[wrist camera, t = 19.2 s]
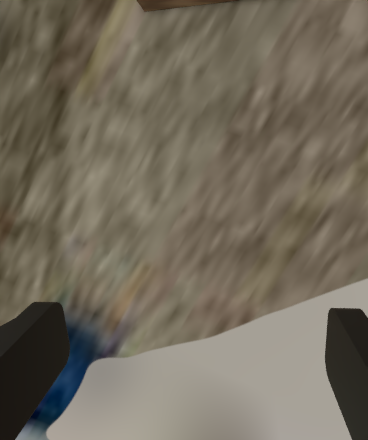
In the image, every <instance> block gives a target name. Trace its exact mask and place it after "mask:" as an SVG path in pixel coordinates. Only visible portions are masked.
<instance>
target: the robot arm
mask: <svg viewBox="0 0 368 440" xmlns="http://www.w3.org/2000/svg"><path fill="white" fill-rule="evenodd" d="M69 352H70V344H69V338H68V333H67V327H66V322H65V317H64V311H63V308H62V305H61V304H60V303H58V302H34V303H32V304H31V305H30V306H28V307H27V308H26V309H25V310H24V311H23V312H22V313H21V314H20V315H19V316H17V317H16V318H15V319H13V320H11V321H9V322H7V323H6V324H4V325H2V326H0V440H15V439H16V437H17V436H18V434H19V433H20V432H21V430H22V429H23V427H24V426H25V424H26V423H27V421H28V420H29V418H30V417H31V415H32V414H33V412H34V411H35V409H36V408H37V407H38V405H39V404H40V402H41V401H42V399H43V398H44V396H45V395H46V393H47V392H48V390H49V389H50V387H51V386H52V384H53V383H54V382H55V380H56V379H57V377H58V376H59V374H60V373H61V371H62V370H63V368H64V367H65V365H66V363H67V361H68V357H69ZM325 363H326V371H327V376H328V379H329V382H330V384H331V387H332V389H333V392H334V394H335V397H336V400H337V402H338V405H339V407H340V410H341V412H342V415H343V417H344V420H345V422H346V425H347V428H348V430H349V433H350V435H351V438H352V440H368V318H367V316H366V315H365V313H364V312H363V311H362V310H361V309H350V308H349V309H348V308H331V309H330V310H329V313H328V325H327V337H326V351H325Z"/></svg>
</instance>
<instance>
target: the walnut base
mask: <svg viewBox="0 0 368 440" xmlns="http://www.w3.org/2000/svg"><path fill="white" fill-rule="evenodd" d="M229 1H237V0H137V2H138V3H139V4H140V6H141V7H142V8H143V10H144V11H153V10H162V9H170V8H178V7H187V6H195V5H204V4H212V3H221V2H229Z"/></svg>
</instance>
